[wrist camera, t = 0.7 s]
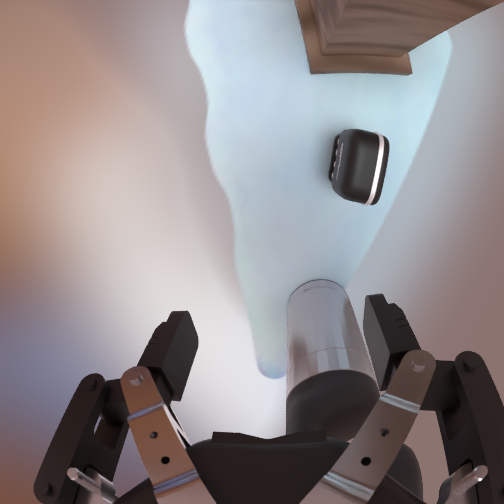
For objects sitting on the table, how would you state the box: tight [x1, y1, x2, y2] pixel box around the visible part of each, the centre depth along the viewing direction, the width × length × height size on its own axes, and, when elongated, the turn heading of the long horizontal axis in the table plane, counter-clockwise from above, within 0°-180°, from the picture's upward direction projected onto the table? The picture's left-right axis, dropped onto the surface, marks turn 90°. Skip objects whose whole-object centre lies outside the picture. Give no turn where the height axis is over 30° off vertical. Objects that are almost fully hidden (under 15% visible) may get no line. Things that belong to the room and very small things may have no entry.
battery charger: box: [329, 129, 389, 205], centre depth 27 cm, size 7×4×11 cm, turn 173°
